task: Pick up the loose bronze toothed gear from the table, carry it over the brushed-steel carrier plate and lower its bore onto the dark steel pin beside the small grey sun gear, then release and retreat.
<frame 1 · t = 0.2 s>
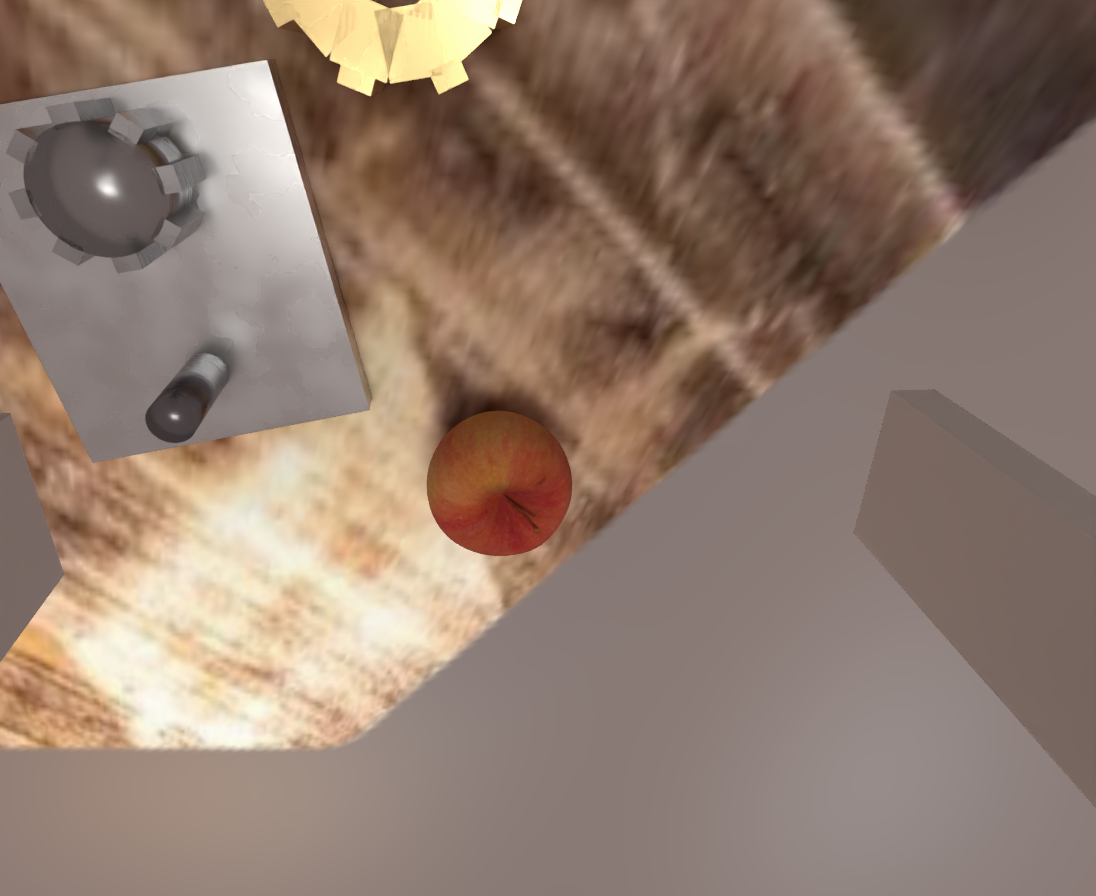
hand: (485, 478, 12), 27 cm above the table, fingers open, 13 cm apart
apple: (493, 444, 42), on the table
carrier: (180, 273, 35), on the table
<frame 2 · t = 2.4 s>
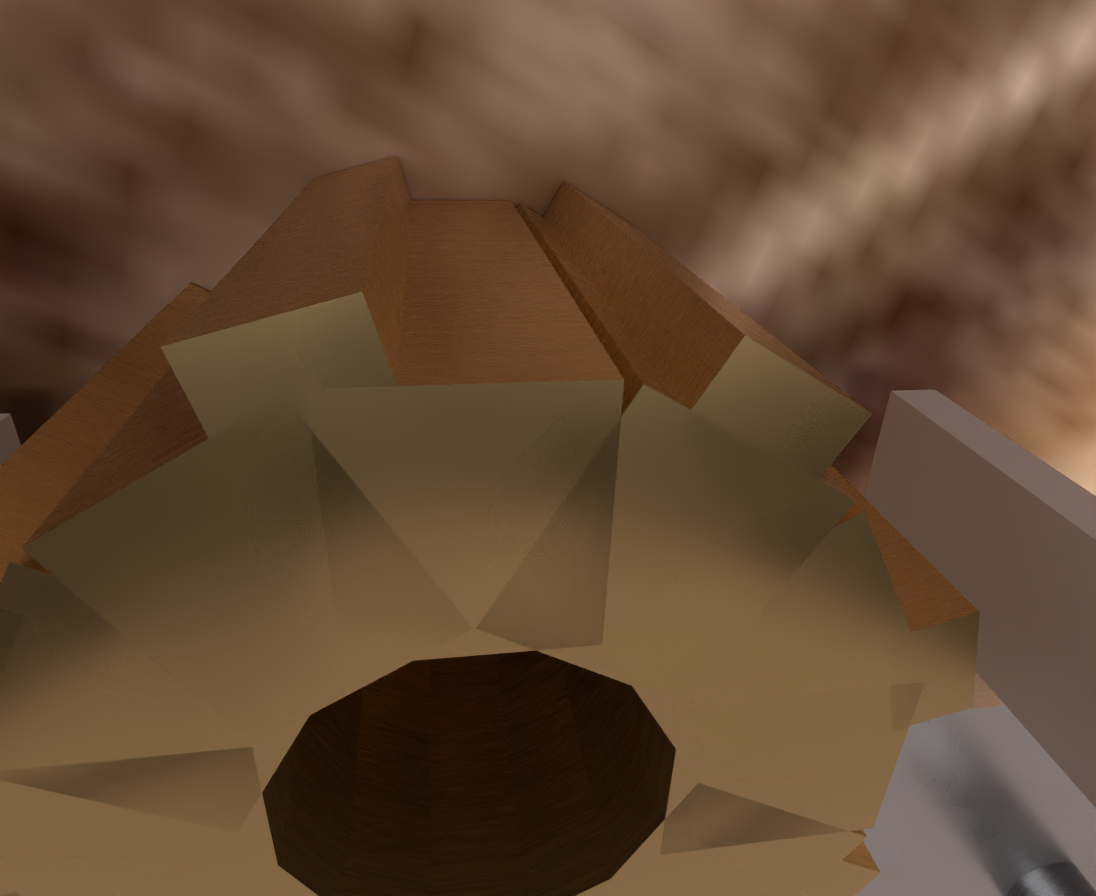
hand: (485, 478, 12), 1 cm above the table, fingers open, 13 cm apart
gear: (451, 444, 13), on the table
carrier: (854, 854, 20), on the table
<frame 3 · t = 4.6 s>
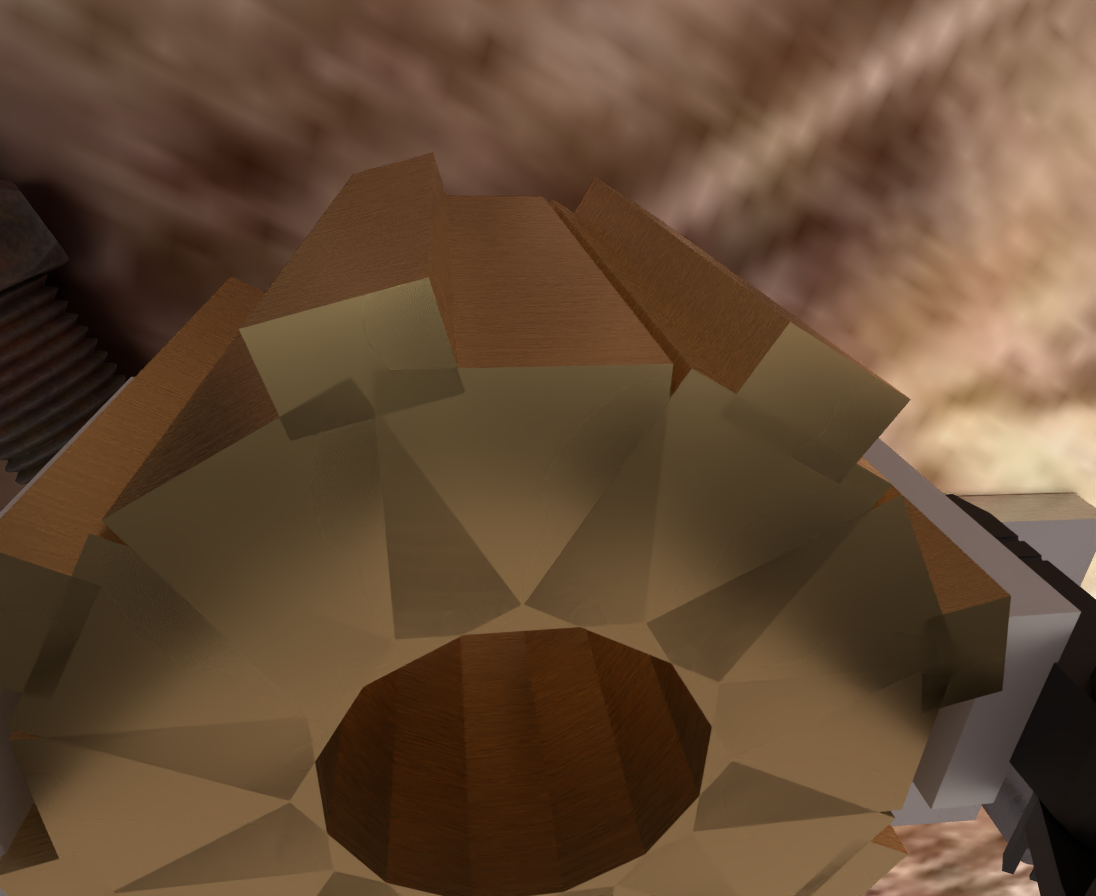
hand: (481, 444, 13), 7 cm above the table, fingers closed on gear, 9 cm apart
gear: (480, 436, 13), point 7 cm above the table, touching gripper
carrier: (796, 668, 26), on the table
bolt: (93, 348, 19), on the table
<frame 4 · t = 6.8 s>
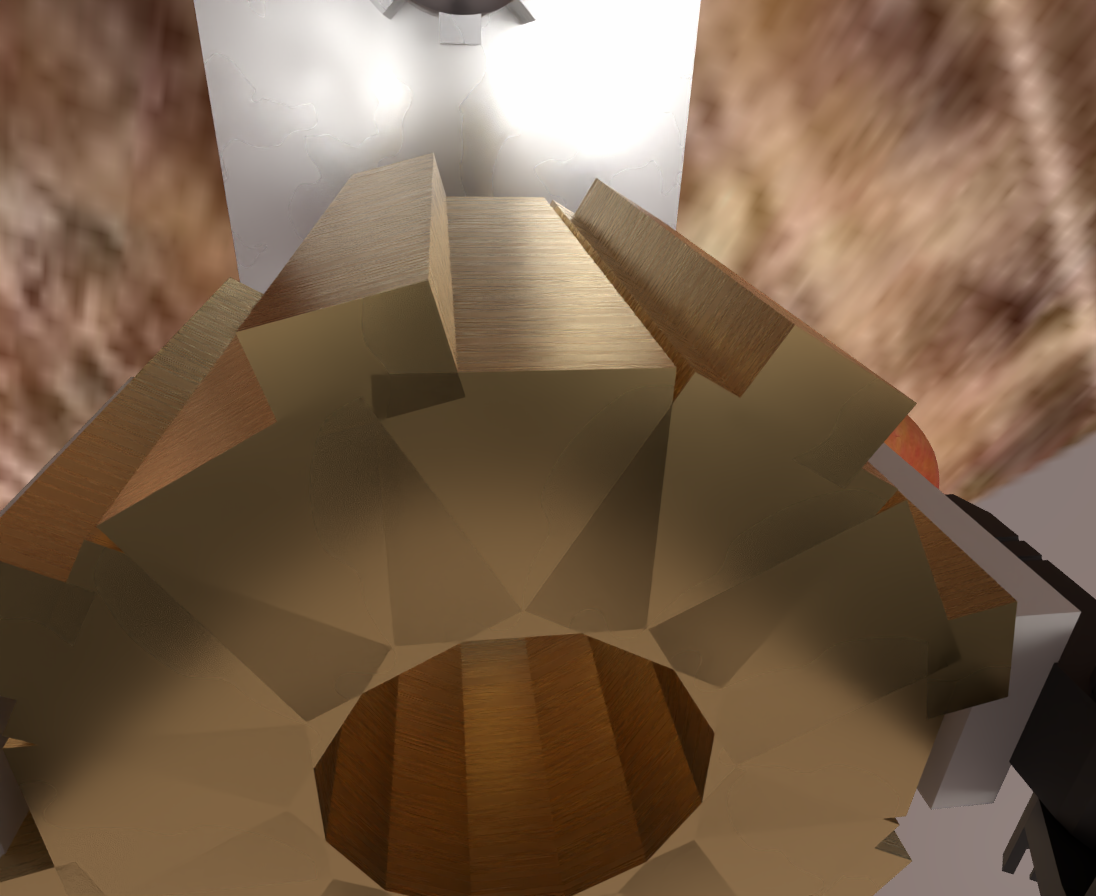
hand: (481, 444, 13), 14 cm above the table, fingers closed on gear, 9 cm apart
apple: (776, 431, 31), on the table
gear: (480, 438, 13), point 14 cm above the table, touching gripper
carrier: (457, 96, 23), on the table
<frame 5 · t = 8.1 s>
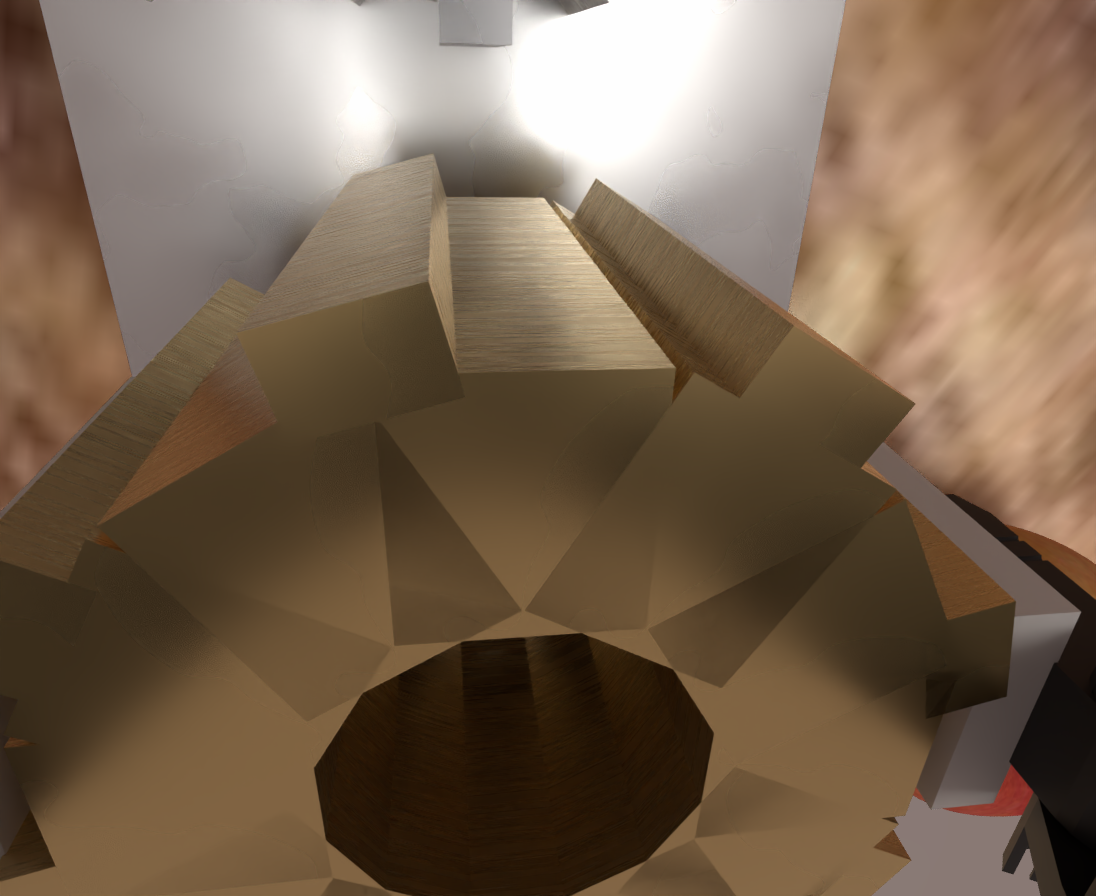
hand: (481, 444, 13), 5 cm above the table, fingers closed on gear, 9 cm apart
apple: (892, 565, 23), on the table
gear: (480, 438, 13), point 5 cm above the table, touching gripper
carrier: (466, 124, 15), on the table
when the fingers open (4 cm above the table, at t = 9.2 s): gear drops 2 cm, resting on carrier.
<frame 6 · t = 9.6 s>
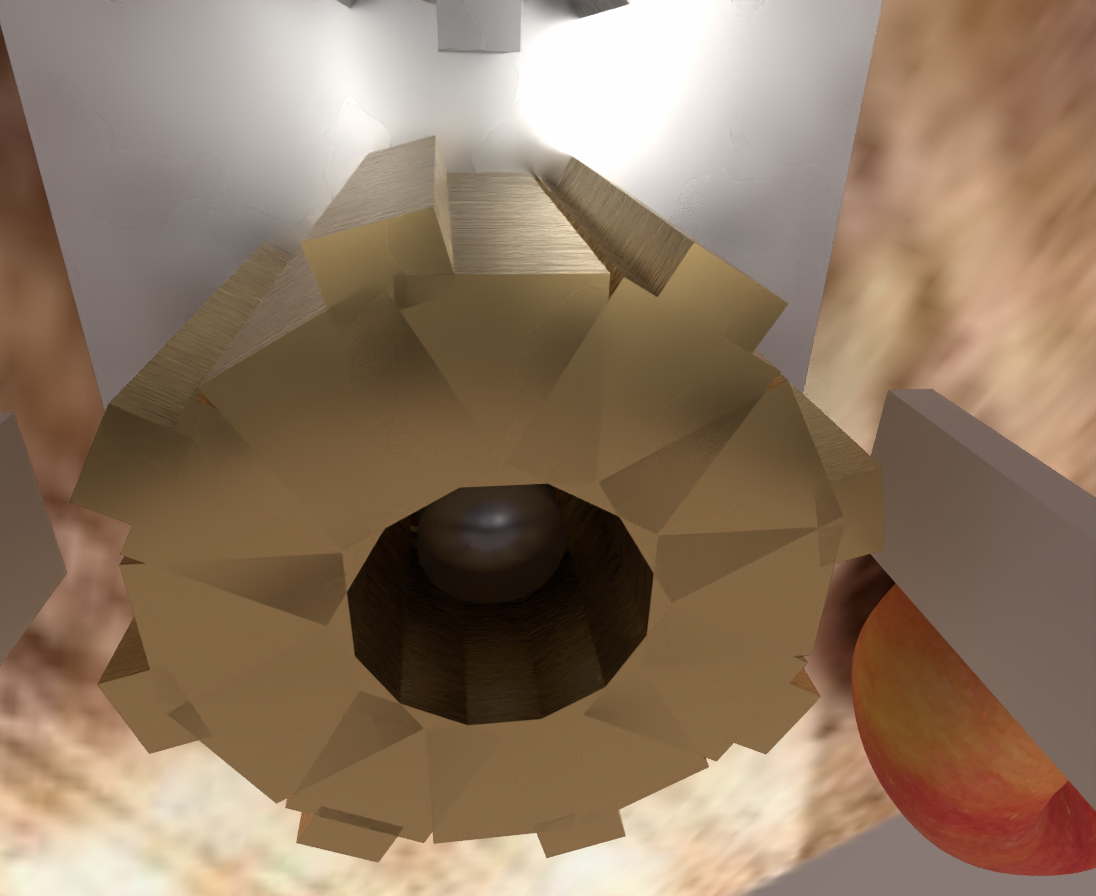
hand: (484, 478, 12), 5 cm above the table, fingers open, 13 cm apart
apple: (917, 599, 22), on the table
gear: (476, 384, 15), point 1 cm above the table, touching carrier
carrier: (467, 137, 14), on the table
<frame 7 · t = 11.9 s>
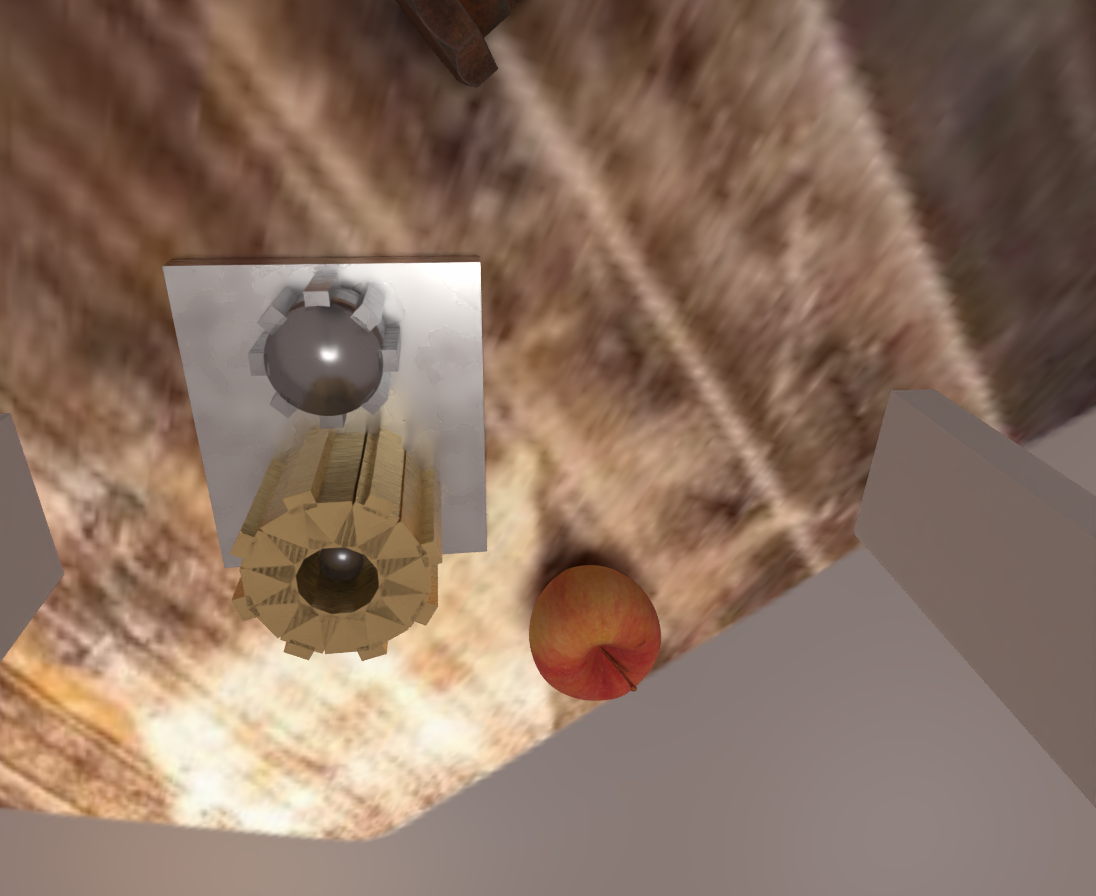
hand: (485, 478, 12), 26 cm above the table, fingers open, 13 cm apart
apple: (580, 587, 46), on the table
gear: (353, 502, 39), point 1 cm above the table, touching carrier
carrier: (346, 413, 38), on the table
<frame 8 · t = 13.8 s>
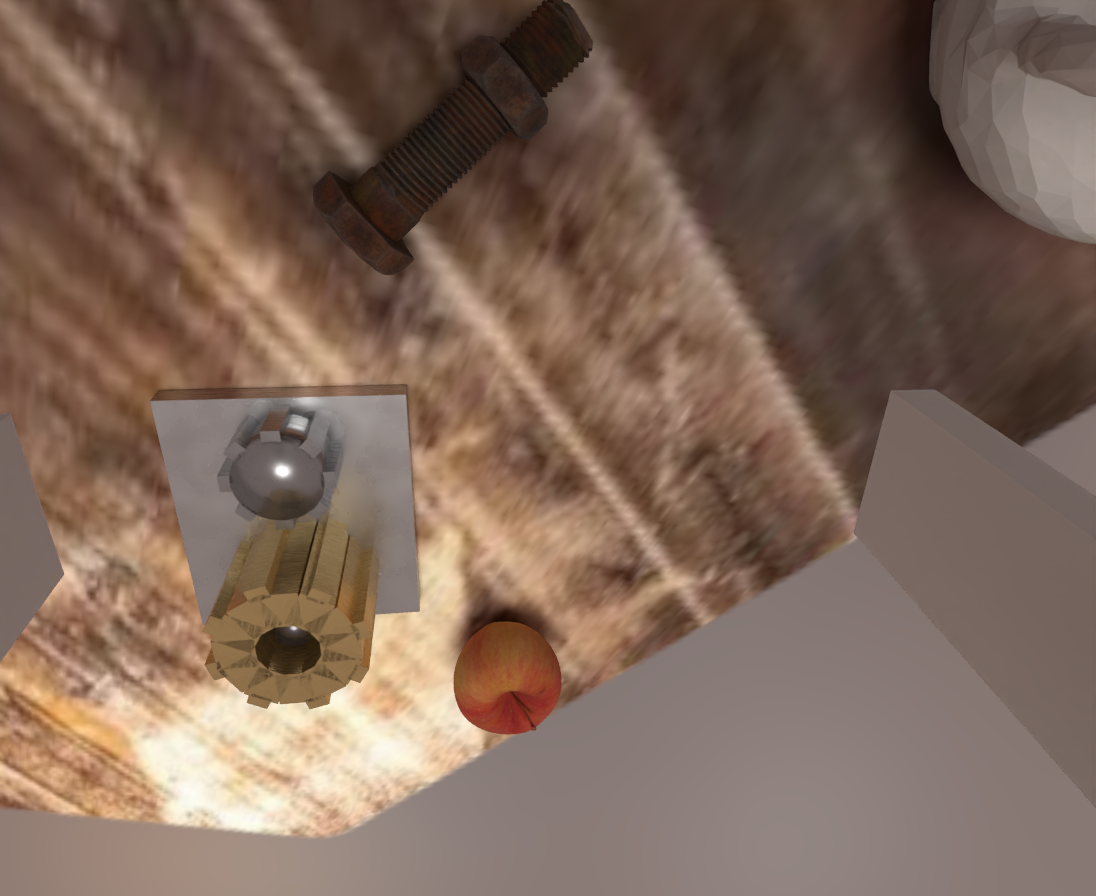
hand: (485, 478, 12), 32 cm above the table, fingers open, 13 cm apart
apple: (502, 636, 55), on the table
ceramic pitcher: (1009, 32, 40), on the table
gear: (307, 574, 48), point 1 cm above the table, touching carrier
carrier: (302, 504, 47), on the table
bolt: (459, 131, 39), on the table
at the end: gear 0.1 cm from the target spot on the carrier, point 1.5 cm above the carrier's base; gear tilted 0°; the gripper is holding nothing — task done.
